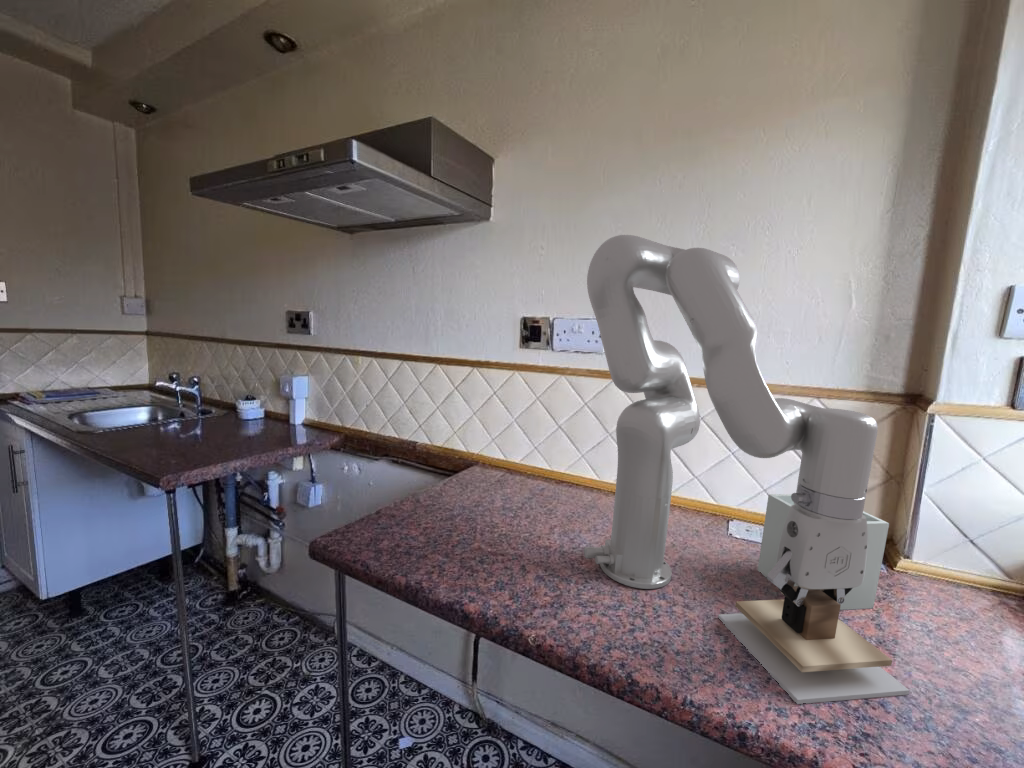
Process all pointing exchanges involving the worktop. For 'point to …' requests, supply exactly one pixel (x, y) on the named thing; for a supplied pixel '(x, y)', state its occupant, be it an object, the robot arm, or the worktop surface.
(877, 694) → the mat
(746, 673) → the worktop surface
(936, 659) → the worktop surface
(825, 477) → the robot arm
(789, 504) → the box
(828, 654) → the lid
